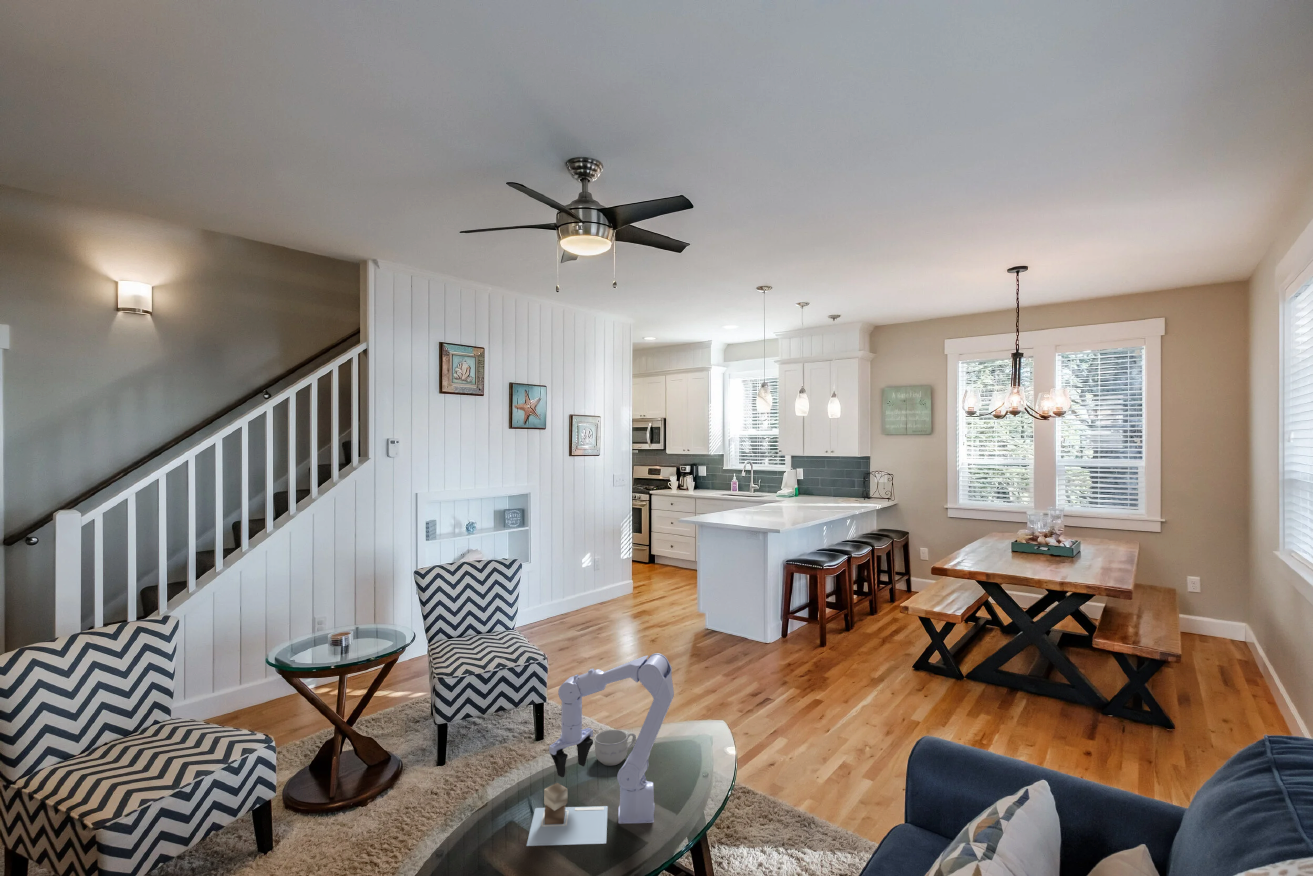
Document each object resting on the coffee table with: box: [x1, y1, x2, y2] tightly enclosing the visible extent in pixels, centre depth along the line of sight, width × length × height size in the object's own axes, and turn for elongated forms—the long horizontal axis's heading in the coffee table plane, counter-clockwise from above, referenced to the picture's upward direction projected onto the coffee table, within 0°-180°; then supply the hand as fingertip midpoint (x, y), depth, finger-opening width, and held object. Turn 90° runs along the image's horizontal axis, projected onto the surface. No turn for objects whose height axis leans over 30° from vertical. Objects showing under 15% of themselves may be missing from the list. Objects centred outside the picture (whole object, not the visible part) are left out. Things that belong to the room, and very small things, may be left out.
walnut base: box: [544, 805, 566, 824], centre depth 167 cm, size 5×5×4 cm
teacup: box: [593, 729, 637, 767], centre depth 199 cm, size 14×11×8 cm
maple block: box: [543, 782, 569, 811], centre depth 167 cm, size 4×4×4 cm
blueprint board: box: [525, 805, 609, 847], centre depth 164 cm, size 20×16×1 cm
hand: (571, 770), depth 174 cm, fingers open, 7 cm apart
